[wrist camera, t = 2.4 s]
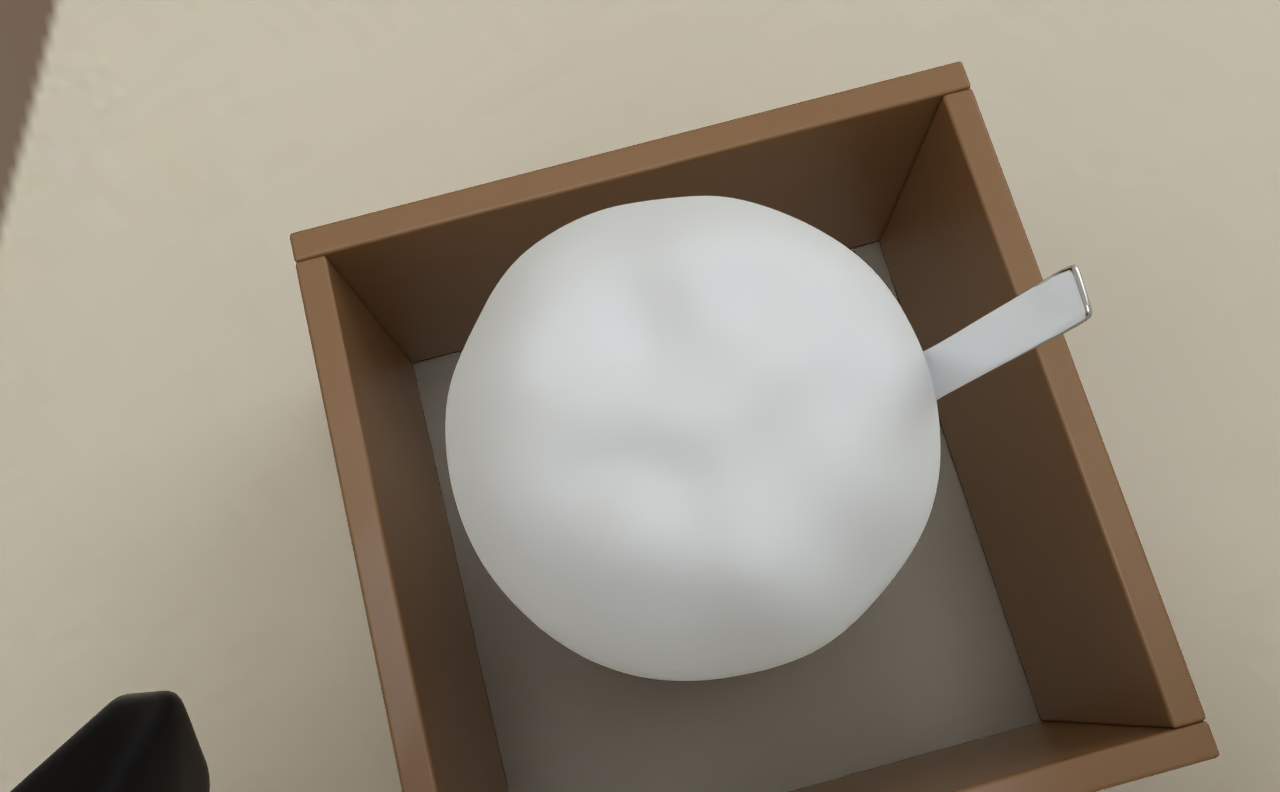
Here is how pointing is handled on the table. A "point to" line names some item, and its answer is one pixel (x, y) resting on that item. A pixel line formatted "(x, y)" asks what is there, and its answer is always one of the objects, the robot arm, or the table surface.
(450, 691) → the carton
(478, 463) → the milkshake
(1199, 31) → the table surface
